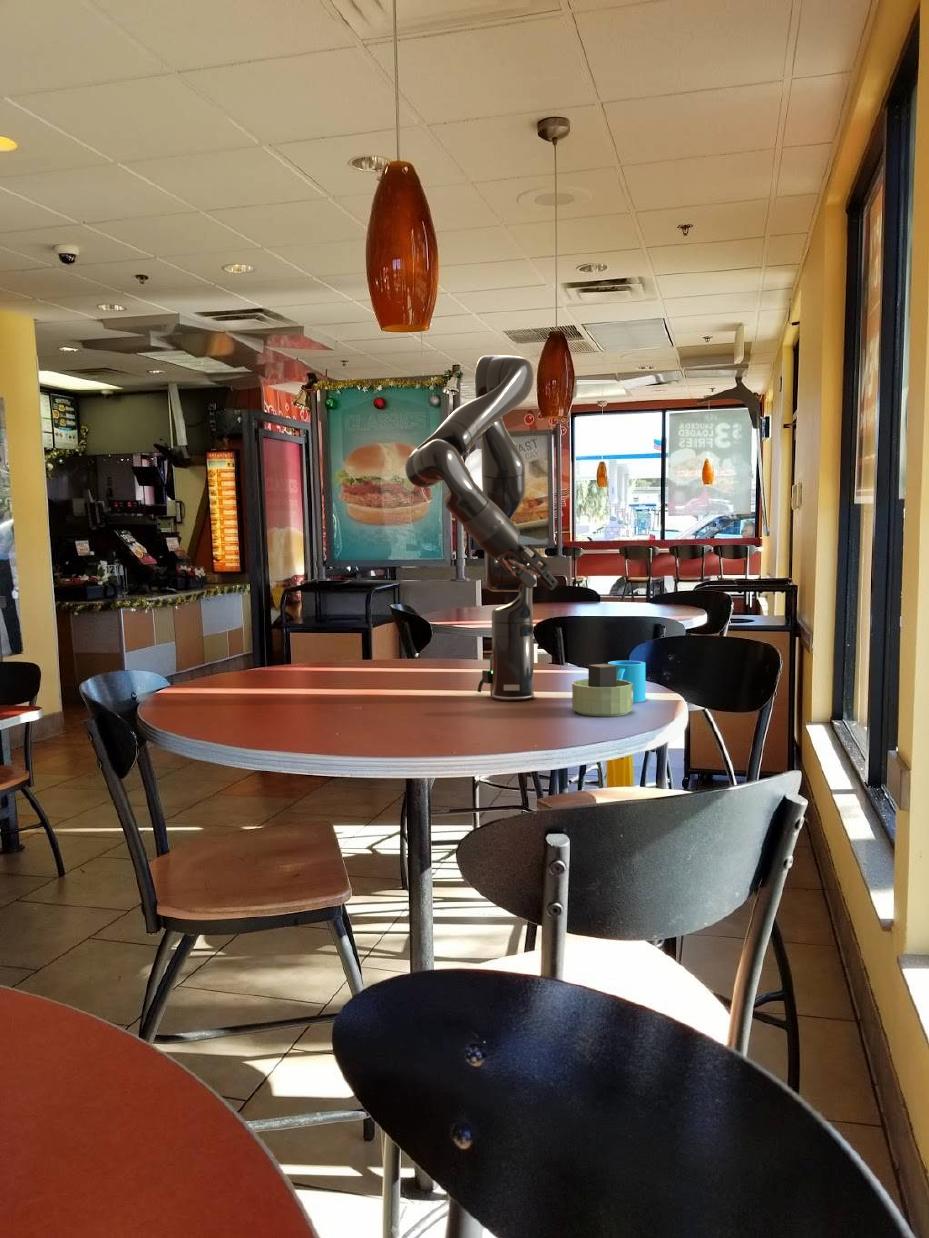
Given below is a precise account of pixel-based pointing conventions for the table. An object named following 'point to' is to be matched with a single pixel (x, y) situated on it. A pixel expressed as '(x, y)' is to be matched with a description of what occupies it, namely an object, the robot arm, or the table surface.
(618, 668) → the mug
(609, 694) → the bowl
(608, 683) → the dark rectangular block
